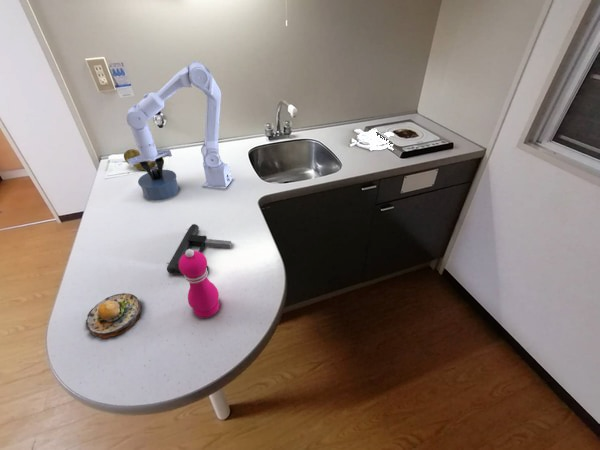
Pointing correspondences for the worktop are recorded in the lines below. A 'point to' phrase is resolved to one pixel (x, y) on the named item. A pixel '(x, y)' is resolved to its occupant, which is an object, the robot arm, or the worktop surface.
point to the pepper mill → (199, 284)
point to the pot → (161, 192)
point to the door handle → (193, 241)
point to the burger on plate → (113, 315)
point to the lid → (157, 179)
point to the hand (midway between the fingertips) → (157, 177)
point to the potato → (134, 153)
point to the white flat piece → (371, 140)
